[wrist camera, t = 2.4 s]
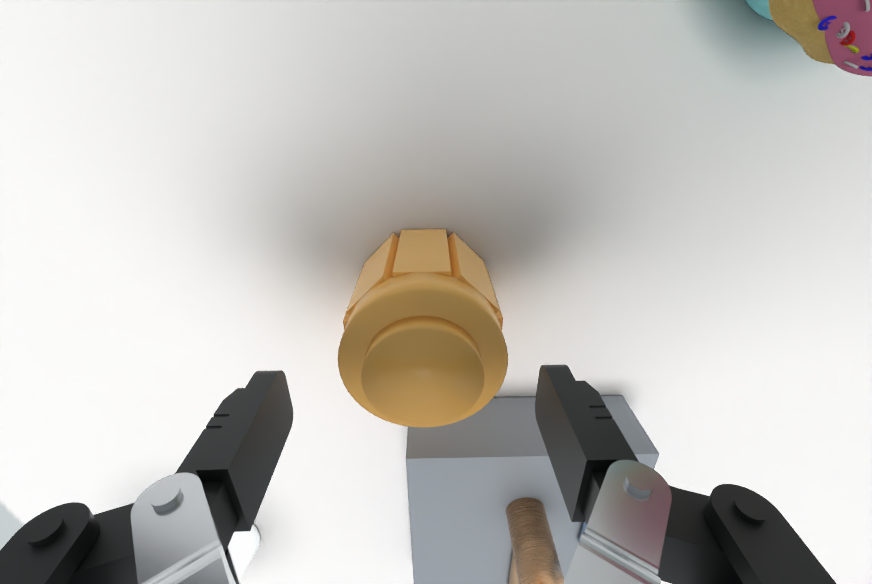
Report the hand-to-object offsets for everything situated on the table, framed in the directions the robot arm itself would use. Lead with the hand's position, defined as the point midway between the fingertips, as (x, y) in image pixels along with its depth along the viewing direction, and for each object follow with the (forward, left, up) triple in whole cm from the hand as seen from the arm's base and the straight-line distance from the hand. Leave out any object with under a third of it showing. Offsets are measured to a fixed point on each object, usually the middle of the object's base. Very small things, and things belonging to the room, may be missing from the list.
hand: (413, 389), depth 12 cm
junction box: (+15, +5, -7) cm, 17 cm away
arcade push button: (0, 0, -7) cm, 7 cm away
